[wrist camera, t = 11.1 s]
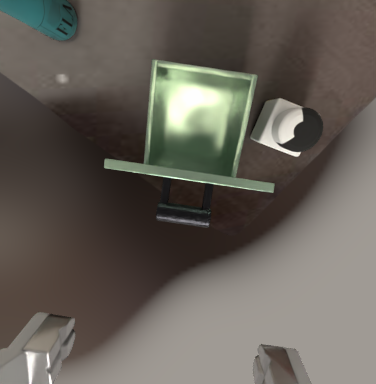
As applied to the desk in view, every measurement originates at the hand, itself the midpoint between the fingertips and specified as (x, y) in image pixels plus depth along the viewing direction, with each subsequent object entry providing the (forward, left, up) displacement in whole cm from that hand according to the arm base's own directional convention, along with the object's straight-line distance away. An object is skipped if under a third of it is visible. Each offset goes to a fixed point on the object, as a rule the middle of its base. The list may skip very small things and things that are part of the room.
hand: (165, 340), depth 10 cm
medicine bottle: (-7, +16, -38) cm, 41 cm away
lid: (-2, 0, -20) cm, 20 cm away
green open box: (-8, +1, -38) cm, 38 cm away
